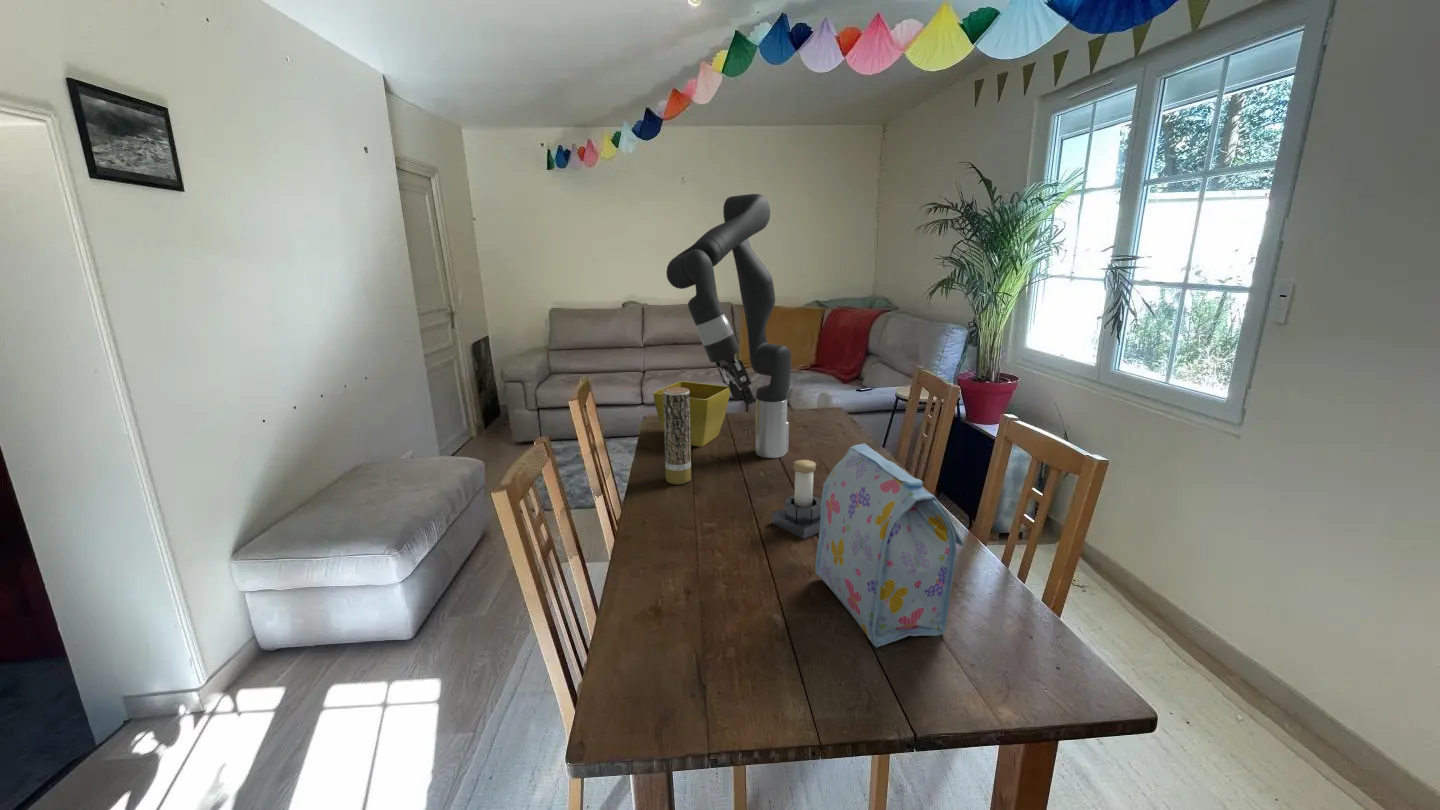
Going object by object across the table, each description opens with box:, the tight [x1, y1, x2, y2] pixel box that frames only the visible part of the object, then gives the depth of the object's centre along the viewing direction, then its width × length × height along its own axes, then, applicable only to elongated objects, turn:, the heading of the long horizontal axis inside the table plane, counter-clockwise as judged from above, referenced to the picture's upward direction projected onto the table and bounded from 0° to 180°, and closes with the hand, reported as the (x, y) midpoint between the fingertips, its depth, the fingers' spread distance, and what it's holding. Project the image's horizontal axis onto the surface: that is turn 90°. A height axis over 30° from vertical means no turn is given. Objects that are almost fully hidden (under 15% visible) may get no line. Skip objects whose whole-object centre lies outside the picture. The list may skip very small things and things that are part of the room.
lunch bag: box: [814, 442, 965, 648], centre depth 99 cm, size 22×17×26 cm
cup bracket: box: [771, 494, 822, 540], centre depth 131 cm, size 10×10×6 cm
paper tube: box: [663, 387, 692, 485], centre depth 154 cm, size 7×7×25 cm
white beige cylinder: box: [793, 459, 817, 507], centre depth 130 cm, size 5×5×12 cm
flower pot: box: [652, 380, 731, 447], centre depth 189 cm, size 19×19×17 cm
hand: (744, 401), depth 137 cm, fingers open, 8 cm apart
